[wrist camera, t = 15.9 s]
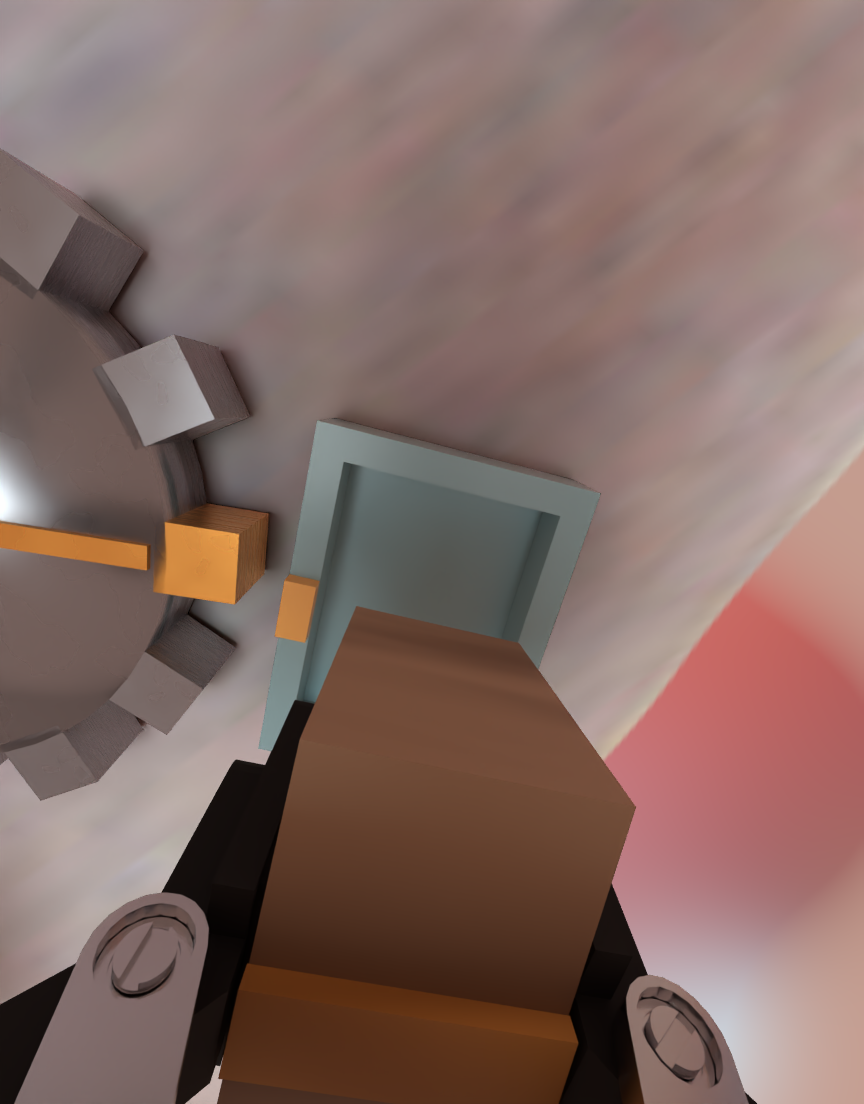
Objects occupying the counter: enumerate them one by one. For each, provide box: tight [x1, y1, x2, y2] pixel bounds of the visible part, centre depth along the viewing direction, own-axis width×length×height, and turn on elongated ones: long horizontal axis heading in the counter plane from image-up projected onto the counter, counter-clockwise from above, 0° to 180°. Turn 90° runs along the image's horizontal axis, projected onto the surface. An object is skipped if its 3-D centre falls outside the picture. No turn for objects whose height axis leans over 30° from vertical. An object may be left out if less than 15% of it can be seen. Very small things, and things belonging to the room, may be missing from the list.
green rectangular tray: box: [258, 418, 601, 751], centre depth 18 cm, size 12×9×4 cm
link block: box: [217, 606, 636, 1104], centre depth 9 cm, size 7×4×6 cm, turn 166°
